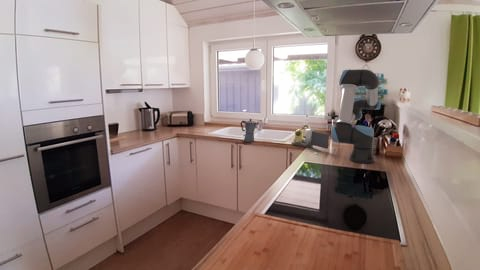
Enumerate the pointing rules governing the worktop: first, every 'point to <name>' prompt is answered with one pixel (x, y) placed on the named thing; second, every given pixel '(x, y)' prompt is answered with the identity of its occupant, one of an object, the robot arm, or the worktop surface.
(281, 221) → the worktop surface
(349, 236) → the worktop surface
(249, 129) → the moka pot
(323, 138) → the grey white box
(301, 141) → the pale yellow rounded lump
